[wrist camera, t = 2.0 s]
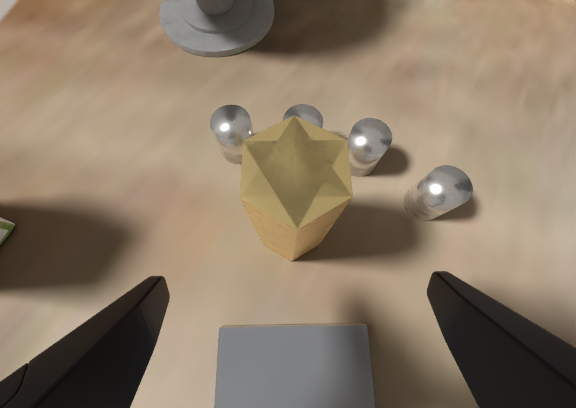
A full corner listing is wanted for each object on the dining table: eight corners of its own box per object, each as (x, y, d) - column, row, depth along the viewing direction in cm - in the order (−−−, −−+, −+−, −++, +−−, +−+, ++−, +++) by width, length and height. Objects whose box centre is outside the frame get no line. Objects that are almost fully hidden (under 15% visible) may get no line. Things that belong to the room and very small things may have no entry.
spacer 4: (446, 201, 22) (480, 182, 18) (428, 228, 21) (460, 214, 17) (415, 180, 22) (441, 157, 19) (397, 206, 22) (420, 187, 18)
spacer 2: (323, 146, 23) (330, 118, 20) (303, 169, 23) (306, 145, 19) (297, 128, 24) (299, 97, 20) (276, 150, 23) (274, 123, 20)
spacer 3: (381, 158, 23) (399, 132, 19) (362, 183, 22) (377, 160, 19) (353, 140, 24) (366, 111, 20) (333, 163, 23) (343, 137, 19)
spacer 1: (263, 146, 23) (258, 118, 20) (240, 170, 23) (231, 145, 19) (238, 128, 24) (229, 98, 20) (215, 151, 23) (201, 123, 19)
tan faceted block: (316, 199, 22) (344, 114, 11) (320, 260, 20) (356, 228, 10) (264, 199, 22) (243, 115, 11) (263, 261, 20) (238, 229, 10)
